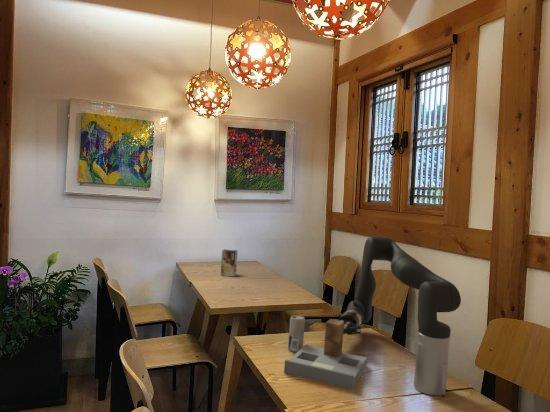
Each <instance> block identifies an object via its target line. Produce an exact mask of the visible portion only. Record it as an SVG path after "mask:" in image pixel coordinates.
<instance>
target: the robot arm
mask: <svg viewBox="0 0 550 412" xmlns="http://www.w3.org/2000/svg"><path fill="white" fill-rule="evenodd" d="M374 261H384V262H385V261H386V262H390V270H391V273H392V275H393V276H394V277H395V278H396V279H397V280H399V282H400V283H402V284H404V285H405V286H407V287H410V288H412V289H414V290H416V291H417V290H418V293H417V324H418V325H417V326H418V329H417V331H418V332H417V342H416V355H415V356H416V357H415V367H414V379H413V387H414V389H416V390H417V391H419V392H420V393H422V394H425V395H429V396H442V395H444V397H446V389H447V378H448V366H449V355H450V354H449V353H450V340H451V331H452V329H451V327H450V326H449V325H448V324H446V322H445V323H444V322H442V321H439V320H438V313H452V312H454V311H457V310H458V309H459V307H460V306H461V302H462V299H461V298H462V297H461V293H460V291H459V289H458V288H457V286H456V285H455V284H453V283H452V282H450V280H447V279H445V278H443V277H442V276H440V275H438V274H436V273H434V271H432V270H431V269H429V268H428V267H426V266H425V265H423V264H422V263H421V262H419V260H417V259H416V258H414V257H413V256H411V255H410V254H408V253H407V252H406V251H405V250H403V249H402V248H401V247H400V246H399V245H398V244H397V243H396V242H395V241H394V240H393V239H392V238H390V237H387V236H369V237H367V239H366V240H365V243H364V246H363V252H362V260H361V267H360V268H361V270H360V277H359V280H358V281H359V282H358V285H357V288H356V291H355V295H354V297H355V299H356V300H357V301H356V300H351V301H350V302H349V303H348V305H347V307H346V311H345V312H344V313H342V314H341V315H340V317H339V318H337V319H338V320H339V321H344V330H343V336H344V335H347V336H351V335H358V334H361V332H362V326H361V323H369V321H370V320H371V318H372V317H373V298H374V295H375V292H376V288H377V282H376V281H377V280H376V279H375V274H374V273H373V268H372V264H373V262H374Z"/></svg>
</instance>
